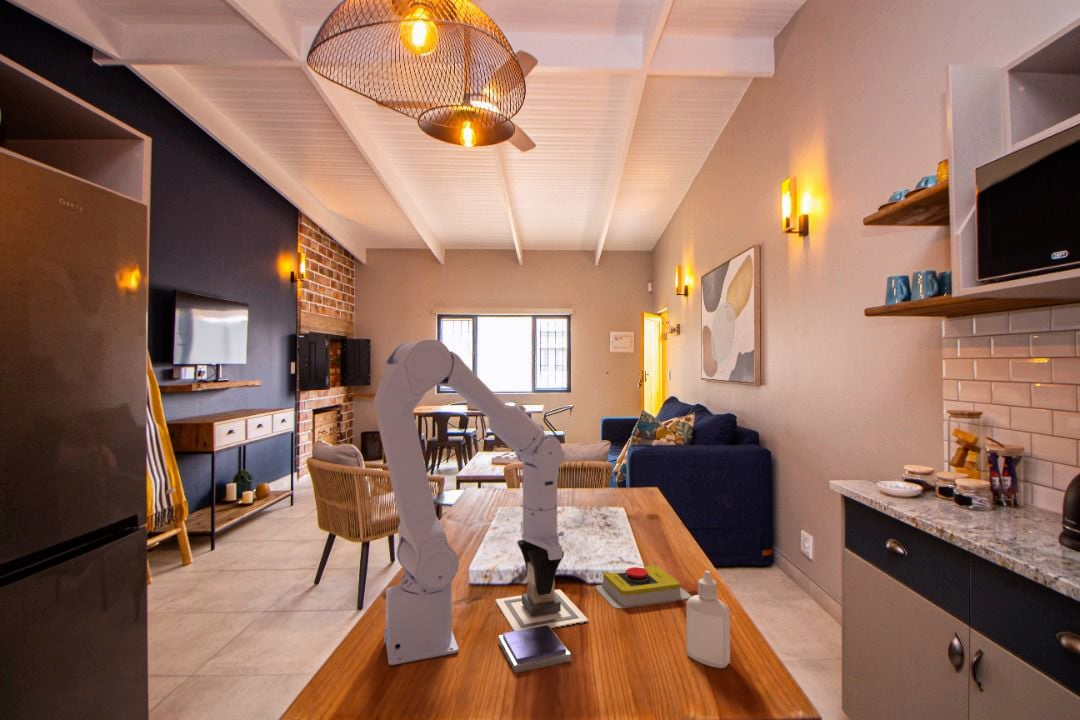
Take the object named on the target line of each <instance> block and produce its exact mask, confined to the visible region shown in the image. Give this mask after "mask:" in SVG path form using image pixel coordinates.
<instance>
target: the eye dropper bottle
mask: <svg viewBox="0 0 1080 720" xmlns="http://www.w3.org/2000/svg"><path fill="white" fill-rule="evenodd" d="M711 575H712V574H711V571H709V570H705V571H704V574H703V578H700V579H698V580H697V581H698V582H697V584H698V587H697V588H698V592H697V593H698V594H695V595H691V597H690V598H689V599H687V601H686V607H685V608H686V610H685V611H686V615H685V616H686V622H685V623H686V625H685V626H686V628H685V629H686V630H685V631H686V637H685V638H686V639H685V640H686V654H687V656H689V658H691V659H692V660H694V661H695V662H698V663H699V664H702V665H705V666H708V667H712V668H718V669H725V668H727V666H728V665H729V663H730V662H731V622H730V621H731V618H730V615H731V614H730V608H729V607H728V605H727V604H725V602H723V601H722V600H721V599H719V598H718V584H717V583H718V582H717V581H715V579H713V578H712V576H711Z"/></svg>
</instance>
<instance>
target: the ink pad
mask: <svg viewBox="0 0 1080 720" xmlns="http://www.w3.org/2000/svg"><path fill="white" fill-rule="evenodd" d="M498 644H499V647H500V648H501V650H502V652H503V654H504V655H505V657H506V659H507V661H508V663H509V665H510V667H511V669H512V671H513V672H514V674H518V673H522V672H526V671H531V670H532V671H533V670H536V669H540V668H546V667H549V666H550V667H551V666H556V665H558V664H559V665H560V664H564V662H565V663H569V662H571V661H572V659H571V657H572V654H571V652H570V651H569V650H568V648H567V647H566V646H565V644H564V643H563V642H562V640H561V639H560V638H559V637H558V635H557V634H556V633H555V631H554V630H553V629H551V627H550V626H548V625H545V626H539V627H534V628H529V629H523V630H518V631H513V630H512V631H508V632H503V633H502V634H500V635H498Z"/></svg>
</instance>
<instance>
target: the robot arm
mask: <svg viewBox="0 0 1080 720" xmlns="http://www.w3.org/2000/svg"><path fill="white" fill-rule="evenodd" d="M383 365H384V366H383V367H384V368H383V372H382V376H381V378H380V381H379V384H378V386H377V387H378V388H377V390H376V393H375V396H374V398H373V408H374V409H373V410H374V413H375V417H376V418H375V419H376V423H377V426H378V432H379V435H380V440H381V443H382V448H383V452H384V456H385V460H386V466H387V471H388V473H389V479H390V482H391V488H392V491H393V496H394V500H395V506H396V508H397V513H398V517H399V523H398V527H397V532H398V537H399V538H398V544H397V547H396V558H397V561H398V563H399V564H400V566H401V567H402V568H403V573H402V575H401V580H400V583H398V584H396V585H393V586H390V587H389V586H388V587H387V588H386V589H385V628H383V639H384V640H383V643H384V644H385V645H386V655H387V661H388V662H387V663H388V665H389V666H394V665H398V664H399V665H400V664H405V663H410V662H416V661H421V660H426V659H430V658H431V659H432V658H437V657H443V656H447V655H452V654H456V653H458V652H459V646H458V644H457V640H456V637H455V635H454V632H453V630H452V628H453V627H452V622H453V621H452V620H453V619H452V617H453V616H452V613H453V611H452V610H453V609H452V606H453V605H452V604H453V603H452V600H453V599H452V595H453V594H452V592H453V589H452V588H453V587H452V585H453V584H452V583H453V580H454V579H455V577H456V576H457V573H458V571H459V565H460V564H459V563H460V562H459V557H458V553H457V552H456V551H455V550H454V548H453V547H452V546H451V545H450V544H449V542H448V538H447V535H446V531H445V529H444V527H443V526H442V523H441V522H440V520H439V518H438V516H437V512H436V507H435V504H434V502H435V501H434V500H433V495H432V490H431V484H430V480H429V476H428V472H427V468H426V462H425V458H424V455H423V450H422V445H421V440H420V436H419V431H418V427H417V423H416V419H415V414H414V410H415V408H416V407H417V406H418V405H419V403H420V402H421V400H423V398H424V396H425V395H426V393H427V392H430V390H432V389H433V388H435V387H436V386H440V387H446V388H449V389H452V390H453V391H454V392H456V393H457V394H458V395H459V396H461V397H462V398H463V399H465V400H466V401H467V402H468V403H469V404H471V405H472V406H473V407H474V408H476V409H477V410H478V411H479V412H480V413H482V414H483V415H484V416H485V417H487V419H488V429H489V431H491V433H493V434H494V435H495V436H496V437H497V438H499V439H500V440H501V441H502V442H503V443H504V444H505V445H506V446H507V447H508V448H510V449H511V450H512V451H513V452H515V455H516V459H517V461H519V462H521V463H522V520H521V521H520V532H521V539H520V540H517V545H518V547H519V549H520V553H522V557H523V560H524V565H525V569H526V571H527V562H532V565H533V569H534V575H535V583H536V589H537V593H538V595H544V594H550V593H551V590H552V586H553V581H554V577H556V573H557V570H558V568H559V566H560V563H561V562H562V560H563V559H564V556H565V553H564V551H563V545H561V543H560V537H563V536H564V535H565V531H564V530H563V529H562V528H558V477H559V476H560V473H559V472H560V471H559V470H560V467H561V465H562V463H563V462H564V459H565V456H566V451H565V450H564V449H563V447H562V445H561V441H560V440H559V439H558V438H557V437H556V436H554V435H551V434H546V433H545V430H544V429H545V428H544V427H545V426H543V425H542V424H541V423H536V422H535V421H534V419H532V418H531V417H530V415H527V413H526V410H527V408H526V407H525V406H523V404H520V403H519V404H516V403H514V402H505V403H504V402H503V401H502V400H501V399H500V398H499V397H498V396H497V395H496V394H495V393H494V392H493V391H492V390H491V389H490V388H489V387H488V386H487V385H486V384H485V383H484V382H483V381H482V380H481V378H479V377H478V376H477V375H476V374H475V373H474V372H473V370H472V369H471V368H469V366H467V364H466V363H465V362H464V361H463V360H462V358H461V357H460V356H459V355H458V354H457V353H455V352H454V351H453V350H452V351H450V350H449V348H448V347H447V345H445V344H444V343H443V342H442V341H439V340H437V339H435V338H426V339H422V340H420V341H419V340H418V341H406V342H402V343H401V344H399V345H398V346H397V347H395V348H394V350H393V351H391V353H390V354H389V355H388V356H387V358H386V359H385V360H384V364H383Z"/></svg>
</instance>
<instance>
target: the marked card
mask: <svg viewBox="0 0 1080 720" xmlns="http://www.w3.org/2000/svg"><path fill="white" fill-rule="evenodd" d="M555 596H556V597H557V598H558V600H559V601H560V602H561V611H560V612H554V613H548V614H542V615H537V616H531V615H530V614H529V612H528V611H527V609H526V608H525V607H524V605H523V604H522V594H521V595H516V596H515V595H514V596H508V597H502V598H496V599H495V603H496V605H497V607H498V608H499V610H500V611H501V613H502V614H503V617H504V618H505V620H506V621H507V623H508V624H509V626H510V628H511V630H512V631H518V630H523V629H529V628H534V627H539V626H545V625H548V626H550V627H551V628H554V627H559V628H562V627H561V626H564V627H567V626H566V625H570V626H573V625H572V624H575V625H577V624H576V623H580V624H584V622H586V623H589V622H590V620H589V619H588V617H586V616H585V614H584V613H583V612H582V611H581V610H580V609H579V608H578V607H577V606H576V604H574V602H573V601H572V600H570V598H569V597H568V596H567V595H566V594H565V593H564V592H563V591H562V590H561V589H560V588H559V589H555ZM554 629H555V628H554Z"/></svg>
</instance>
